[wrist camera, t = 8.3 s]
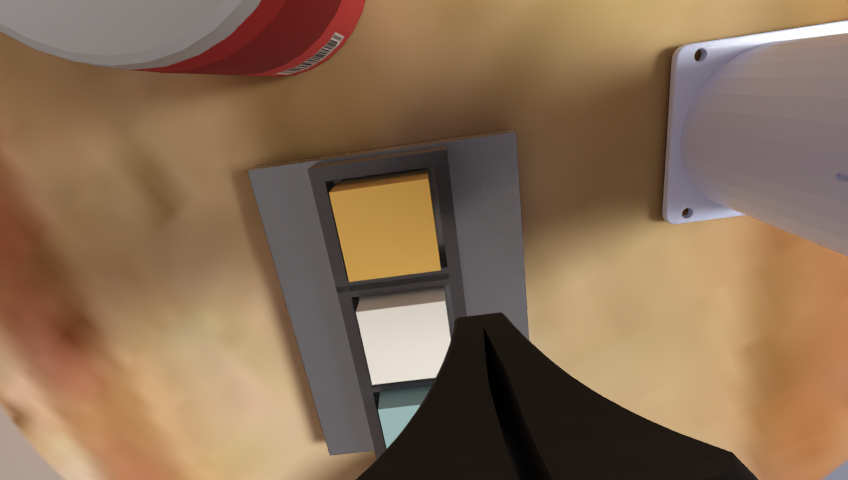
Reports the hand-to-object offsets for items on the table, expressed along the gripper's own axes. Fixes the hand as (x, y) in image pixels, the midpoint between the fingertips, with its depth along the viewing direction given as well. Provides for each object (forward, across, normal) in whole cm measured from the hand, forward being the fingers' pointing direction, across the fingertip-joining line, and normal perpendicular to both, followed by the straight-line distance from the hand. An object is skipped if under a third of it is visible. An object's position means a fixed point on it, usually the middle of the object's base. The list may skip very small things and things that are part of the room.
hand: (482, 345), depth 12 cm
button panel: (+10, +3, +4) cm, 11 cm away
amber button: (+8, +3, -2) cm, 9 cm away
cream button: (+8, +3, +4) cm, 10 cm away
